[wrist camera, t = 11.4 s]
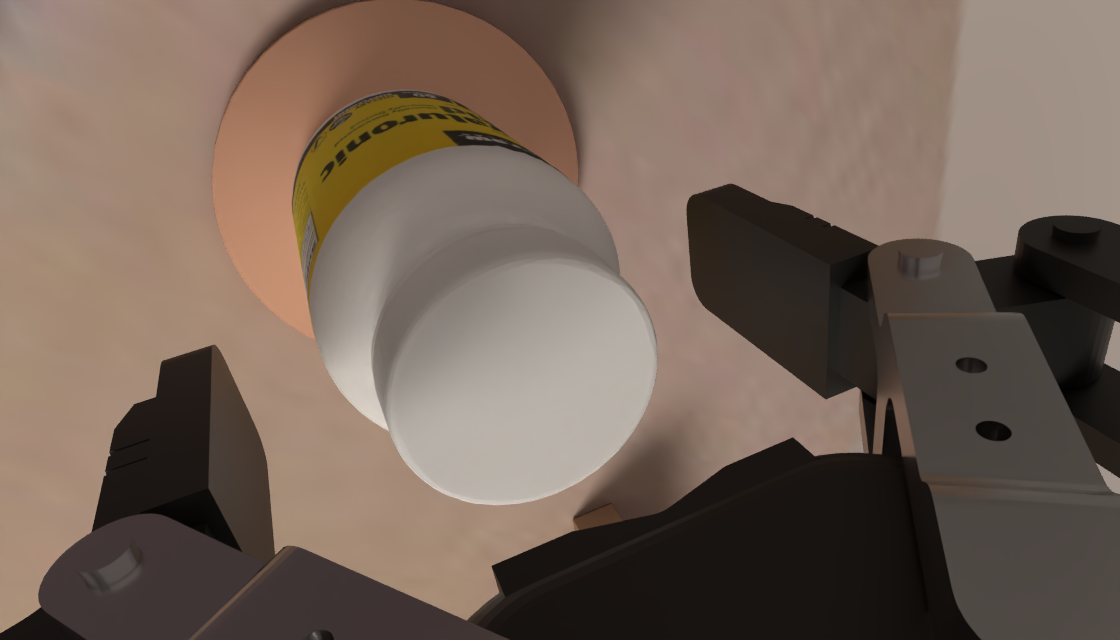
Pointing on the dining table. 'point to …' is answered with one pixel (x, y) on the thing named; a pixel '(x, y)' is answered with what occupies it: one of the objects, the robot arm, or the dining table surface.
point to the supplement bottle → (468, 299)
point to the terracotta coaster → (340, 78)
